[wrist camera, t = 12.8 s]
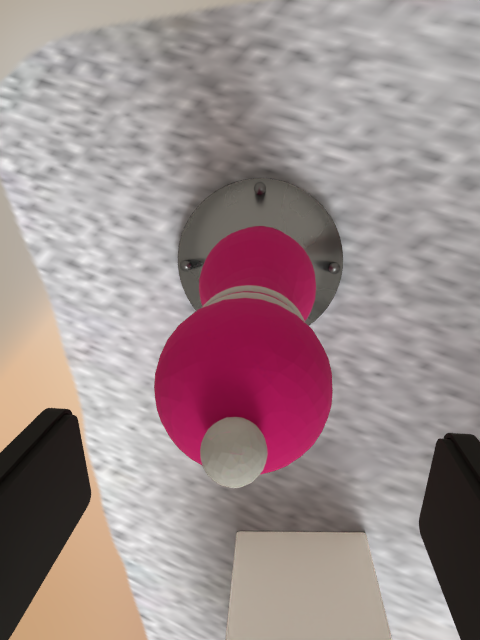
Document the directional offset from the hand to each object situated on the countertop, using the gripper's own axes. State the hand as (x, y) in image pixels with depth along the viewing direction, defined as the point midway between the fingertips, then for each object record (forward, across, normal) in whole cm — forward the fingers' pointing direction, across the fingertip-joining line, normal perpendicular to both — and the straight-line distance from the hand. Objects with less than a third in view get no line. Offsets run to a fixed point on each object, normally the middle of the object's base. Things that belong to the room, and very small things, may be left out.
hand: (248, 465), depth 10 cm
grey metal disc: (+20, +1, -1) cm, 21 cm away
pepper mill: (+20, +1, -1) cm, 20 cm away
